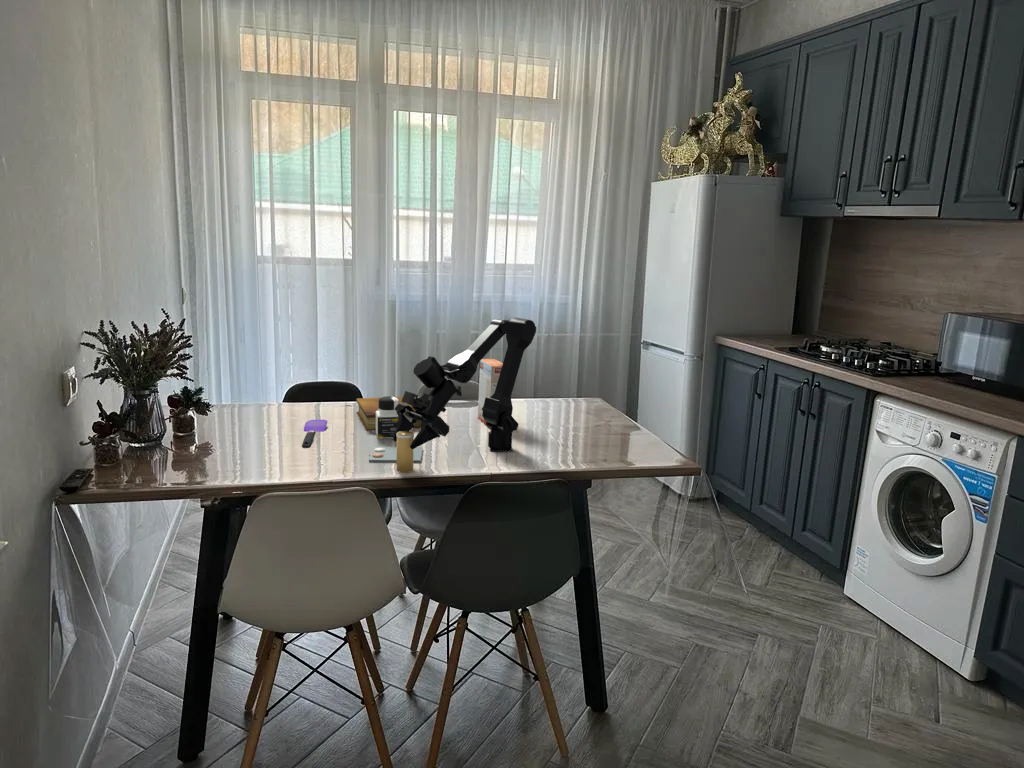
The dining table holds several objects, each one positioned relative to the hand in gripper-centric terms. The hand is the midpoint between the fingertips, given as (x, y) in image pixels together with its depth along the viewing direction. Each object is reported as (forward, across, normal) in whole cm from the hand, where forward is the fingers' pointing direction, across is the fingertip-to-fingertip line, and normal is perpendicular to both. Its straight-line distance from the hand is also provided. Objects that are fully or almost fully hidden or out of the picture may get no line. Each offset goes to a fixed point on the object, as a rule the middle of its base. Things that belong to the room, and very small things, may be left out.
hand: (402, 444), depth 184 cm
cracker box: (-31, -24, +41) cm, 57 cm away
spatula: (+9, -42, +2) cm, 43 cm away
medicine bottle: (-5, -30, +15) cm, 34 cm away
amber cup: (+4, 0, +6) cm, 7 cm away
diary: (-12, -45, +23) cm, 52 cm away
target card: (+1, -11, +9) cm, 15 cm away
